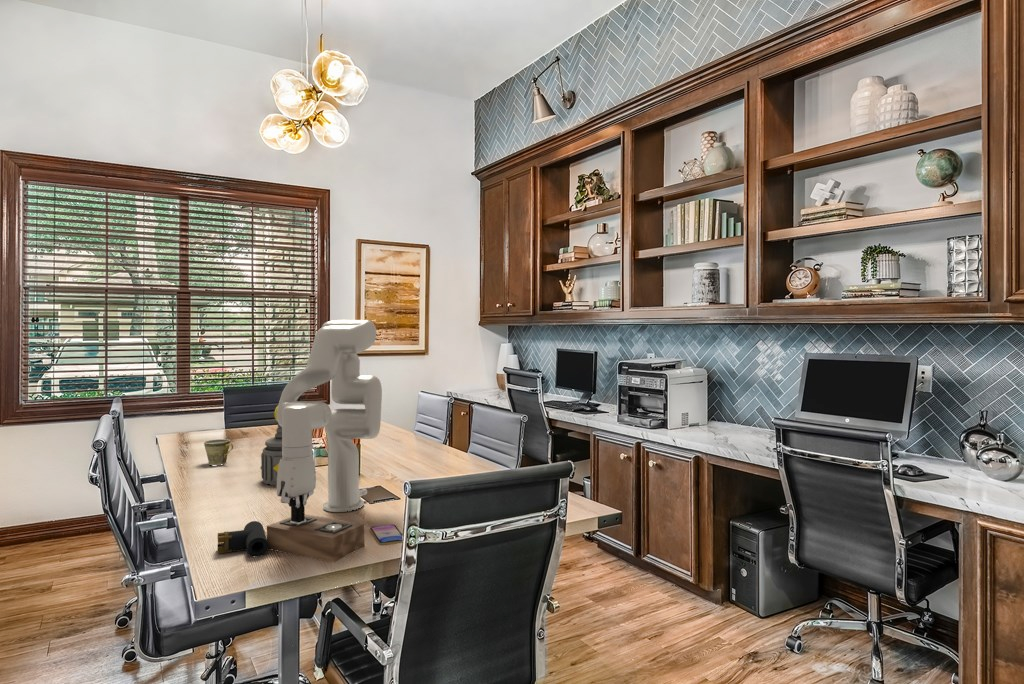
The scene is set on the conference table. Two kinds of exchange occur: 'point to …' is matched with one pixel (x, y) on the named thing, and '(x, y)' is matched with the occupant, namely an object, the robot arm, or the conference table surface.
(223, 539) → the pipe connector
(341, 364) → the robot arm
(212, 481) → the conference table surface
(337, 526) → the peg
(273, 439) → the grey lightning bolt generator
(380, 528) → the smartphone
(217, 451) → the ceramic cup
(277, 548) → the plunger block
